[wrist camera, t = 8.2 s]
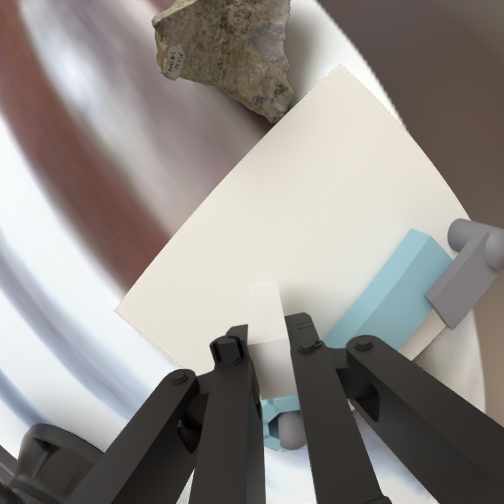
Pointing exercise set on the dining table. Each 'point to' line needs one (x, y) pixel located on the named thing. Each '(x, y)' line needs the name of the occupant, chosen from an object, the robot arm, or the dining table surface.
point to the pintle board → (312, 233)
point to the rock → (229, 49)
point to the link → (378, 312)
